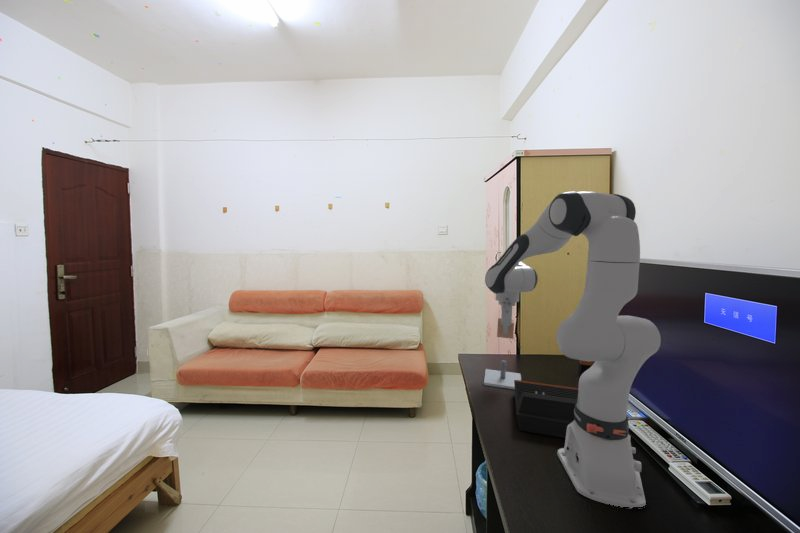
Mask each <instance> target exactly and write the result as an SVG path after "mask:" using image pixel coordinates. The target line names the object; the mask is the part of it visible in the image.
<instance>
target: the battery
mask: <svg viewBox="0 0 800 533" xmlns="http://www.w3.org/2000/svg"><path fill="white" fill-rule="evenodd" d="M594 363H595V361H582V360H578V369H577V370H578V371H577V375H579V378H580V377H581V375H582V374H583V373H584V372H585V371H586V370H588V369H589V368H590V367H591V366H592V365H593V364H594Z"/></svg>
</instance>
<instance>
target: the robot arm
mask: <svg viewBox="0 0 800 533" xmlns="http://www.w3.org/2000/svg"><path fill="white" fill-rule="evenodd" d="M636 214H637V213H636V206H635V203H634V202H633V200H632V199H630V198H629V197H627V196H625V195H622V194H618V193H613V194H610V193H607V192H606V193H605V192H599V191H575V190H573V191H565V192H562V193H558V194H557V195H556V196H555V197H554V198H553V199H552V200H551V202H549V204H548V205H547V206H546V207H545V209H544V210H543V211H542V213H541V214H540V215H539V218H538V219H537V220H536V222H535V223H534V224H533V225H532V226H531V227H530V228H529V229H528V230H526V231H525V232H524V233H523V234H521V235H519V236H517V237H516V238H515V239H514V241H512V242H511V244H510V245H509V246H508V247H507V249H506V250H505V251H504V252H503V254H502V255H501V256H500V257H499V258H498V260H497V261H496V262H495V263H494V264H493V265H492V266H491V267H489V269H488V270H487V271H486V272H485V277H484V283H485V286H486V287H487V289H489V291H490V292H492V293H493V294H495V300H496V301H497V302H498V305H500V307H501V324H502V325H503V333H504V334H507V333H508V328H509V325H511V322H512V320H513V319H512V318H513V307H514V306H516V305H517V304H516V303H519V302H520V293H526V292H531V291H533V290H534V289H535V288H536V287H537V284H538V281H539V279H538V276H539V275H538V273H537V271H536V269H534V267H532V266H529V265H527V264H526V263H525V262H523V261H524V260H526V259H528V258H532V257H535V256H539V255H544V254H545V255H546V254H551V253H555V252H557V251H560V249H562V248H564V246H565V245H566V244H567V243H568V242H569V241H570V240H571V238H572V237H573V236H574V237H578V236H580V235H583V236H584V237H585V238H586V239H587V242H588V251H587V260H586V261H587V262H586V276H585V284H584V289H583V293H582V296H581V298H580V299H579V303H578V304H577V306H576V307H575V309H574V310H573V312H571V314H570V315H569V316H568V317H567V318H565V319H564V320H563V321H561V323H560V324H559V325H558V328H557V331H556V334H555V336H556V337H555V338H556V343H557V346H558V348H559V350H560V351H561V353H562V354H563V355H564V356H565V357H567V358H568V359H571V360H575V361H579V360H582V361H595V363H594V364H593V365H592V366H591V367H590V368H589V369H588V370H586V371H585V372H584V373H583V374H582V375H581V377H580V376H579V379H578V387H577V388H578V400H577V403H576V405H575V409H574V421H573V422H572V423H570V424H569V425H568V426H567V431H566V438H564V439H565V440H564V441H565V442H564V447H561V448H559V449H557V452H556V455H557V458H558V459H559V460H560V462H561V464H562V466H563V468H564V470H565V471H566V473H567V476H568V477H569V480H571V483H572V485H573V486H574V488H575V490H576V492H577V493H579V494H580V495H582V496H584V497H586V498H587V499H590V500H593V501H595V502H598V503H601V504H602V503H603V504H605V505H609V504H610V506H613V505H614V506H613V507H618V506H620V507H619V508H623V507H629V508H628V509H632V508H633V507H643V506H645V505H646V506H647V504H646V502H647V500H646V497H645V492H644V488H643V483H642V479H641V474H640V473H641V472H642V467H643V466H642V462H641V461H639V460H636V459H634V455H633V454H636V452H637V449H636V447H633V446H632V442H631V438H632V437H631V435H630V434H629V428H630V425H629V417H628V415H627V414H628V405H629V398H630V391H631V388H632V385H633V382H634V380H635V378H636V376H637V374H638V373H639V371H640V369H641V368H642V366H643V365H644V364H645V363H646V361H647V360H648V359H649V358H650V357H651V356H653V355H655V354H656V353H657V352H658V351H659V349H660V347H661V342H662V339H661V334H660V331H659V329H658V327H657V326H656V324H655V323H654V322H652V321H651V320H649V319H648V318H643V317H638V316H634V315H626V314H625V315H619V314H620V312H621V310H622V309H623V307H624V306H625V305H627V303H629V302H630V301H631V300H633V299H634V298H635V297H636V295H637V294H638V289H639V277H640V276H639V274H640V264H641V263H640V261H641V243H640V242H641V241H640V234H639V228H638V225H637V223H636V222H635V219H636Z"/></svg>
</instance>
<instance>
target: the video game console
mask: <svg viewBox="0 0 800 533" xmlns="http://www.w3.org/2000/svg"><path fill="white" fill-rule="evenodd" d="M514 385H515V390H514V397H515V399H514V400H515V411H516V412H515V416H516V420H517V421H516V422H517V426H518V429H519V431H522V432H528V433H533V434H534V433H535V434H539V435H544V436H545V435H546V436H552V437H557V438H563V439H566V431H567V426H568V425H569V424H570V423H572V422H573V421H574V409H575V405H576V403H577V400H578V387H572V386H565V385H564V386H563V385H557V384H550V383H549V384H548V383H543V382H535V381H534V382H533V381H527V380H521V381H520V380H514Z"/></svg>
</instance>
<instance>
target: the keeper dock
mask: <svg viewBox="0 0 800 533" xmlns="http://www.w3.org/2000/svg"><path fill="white" fill-rule="evenodd" d="M483 380H484V381H483V386H488V387H495V388H502V389H509V390H514V391H515V385H514V380H520V381H522V374H521V373H520V372H519V373H518V372H512V371H507V360H504V359H502V360H500V370H498V369H489V368H485V371H484V379H483Z"/></svg>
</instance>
